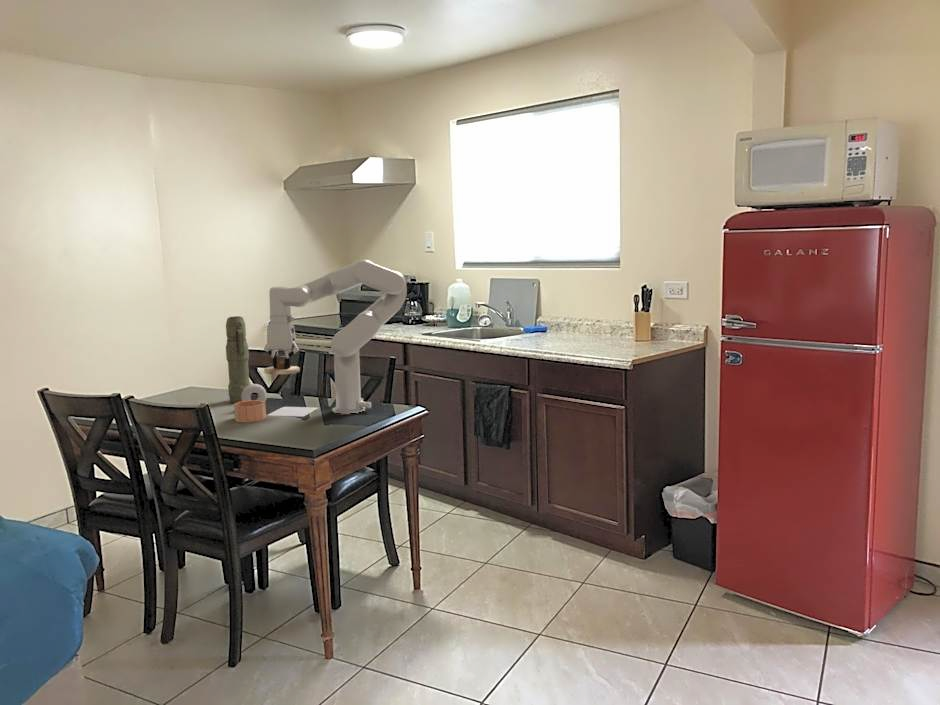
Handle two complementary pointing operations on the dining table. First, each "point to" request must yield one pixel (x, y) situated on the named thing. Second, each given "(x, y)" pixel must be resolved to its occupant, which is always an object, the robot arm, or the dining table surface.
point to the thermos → (237, 357)
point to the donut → (252, 389)
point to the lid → (281, 367)
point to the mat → (293, 411)
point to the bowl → (250, 411)
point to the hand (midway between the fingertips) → (282, 367)
